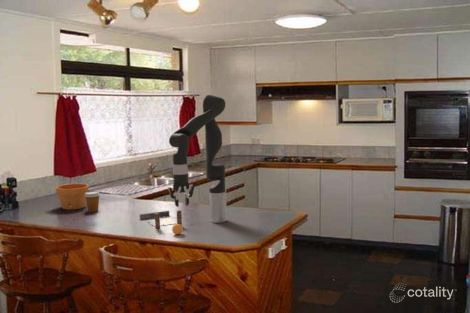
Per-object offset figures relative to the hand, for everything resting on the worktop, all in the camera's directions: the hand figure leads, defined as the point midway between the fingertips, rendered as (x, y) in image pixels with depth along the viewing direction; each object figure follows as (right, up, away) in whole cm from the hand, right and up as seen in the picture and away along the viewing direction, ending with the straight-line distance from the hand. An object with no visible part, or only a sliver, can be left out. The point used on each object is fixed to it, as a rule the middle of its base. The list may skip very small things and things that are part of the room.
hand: (182, 205), depth 274 cm
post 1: (-16, -15, +23) cm, 31 cm away
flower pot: (-82, -10, +89) cm, 122 cm away
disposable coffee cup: (-66, -11, +77) cm, 102 cm away
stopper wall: (-22, -12, +52) cm, 57 cm away
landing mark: (-16, -13, +38) cm, 43 cm away
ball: (-3, -14, +10) cm, 17 cm away
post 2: (-4, -14, +28) cm, 31 cm away
